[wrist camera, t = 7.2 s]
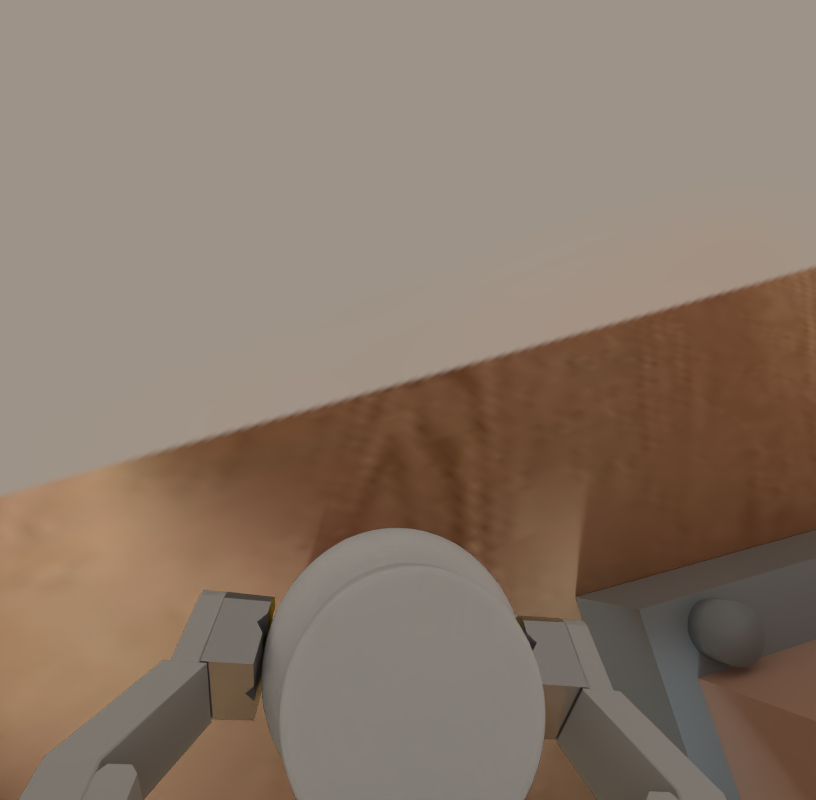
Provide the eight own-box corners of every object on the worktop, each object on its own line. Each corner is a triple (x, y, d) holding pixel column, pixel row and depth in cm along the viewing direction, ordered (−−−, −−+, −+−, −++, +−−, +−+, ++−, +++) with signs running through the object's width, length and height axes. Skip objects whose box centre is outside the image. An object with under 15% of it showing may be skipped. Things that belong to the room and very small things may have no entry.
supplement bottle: (353, 750, 15) (357, 1065, 6) (265, 597, 16) (147, 660, 7) (487, 638, 17) (662, 750, 7) (398, 505, 18) (452, 452, 8)
